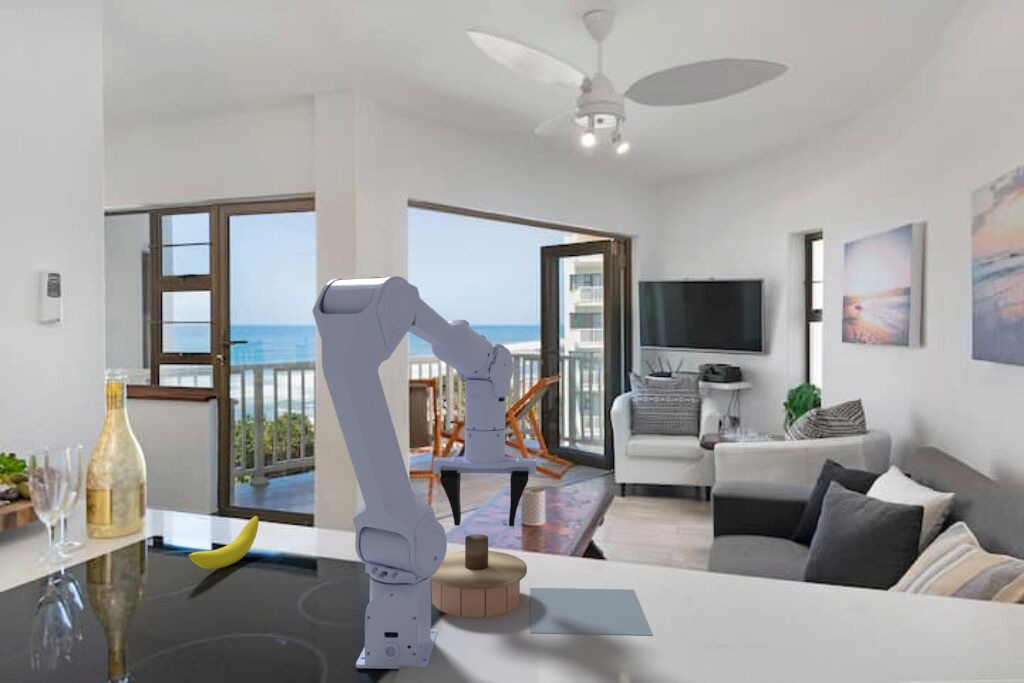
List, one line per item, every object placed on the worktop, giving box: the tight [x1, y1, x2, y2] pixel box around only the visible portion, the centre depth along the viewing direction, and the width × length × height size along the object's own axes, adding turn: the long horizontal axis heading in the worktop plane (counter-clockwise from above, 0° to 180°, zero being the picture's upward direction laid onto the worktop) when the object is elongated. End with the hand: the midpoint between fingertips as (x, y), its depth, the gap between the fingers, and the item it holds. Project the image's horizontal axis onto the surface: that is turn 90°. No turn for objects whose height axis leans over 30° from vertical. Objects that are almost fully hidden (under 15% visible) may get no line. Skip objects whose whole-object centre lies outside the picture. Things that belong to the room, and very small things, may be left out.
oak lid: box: [431, 533, 528, 589], centre depth 94 cm, size 14×14×5 cm
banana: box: [188, 512, 261, 570], centre depth 108 cm, size 3×19×6 cm, turn 171°
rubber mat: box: [529, 587, 653, 637], centre depth 91 cm, size 15×15×1 cm
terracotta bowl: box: [431, 580, 521, 618], centre depth 94 cm, size 12×12×4 cm
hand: (484, 524), depth 96 cm, fingers open, 7 cm apart
